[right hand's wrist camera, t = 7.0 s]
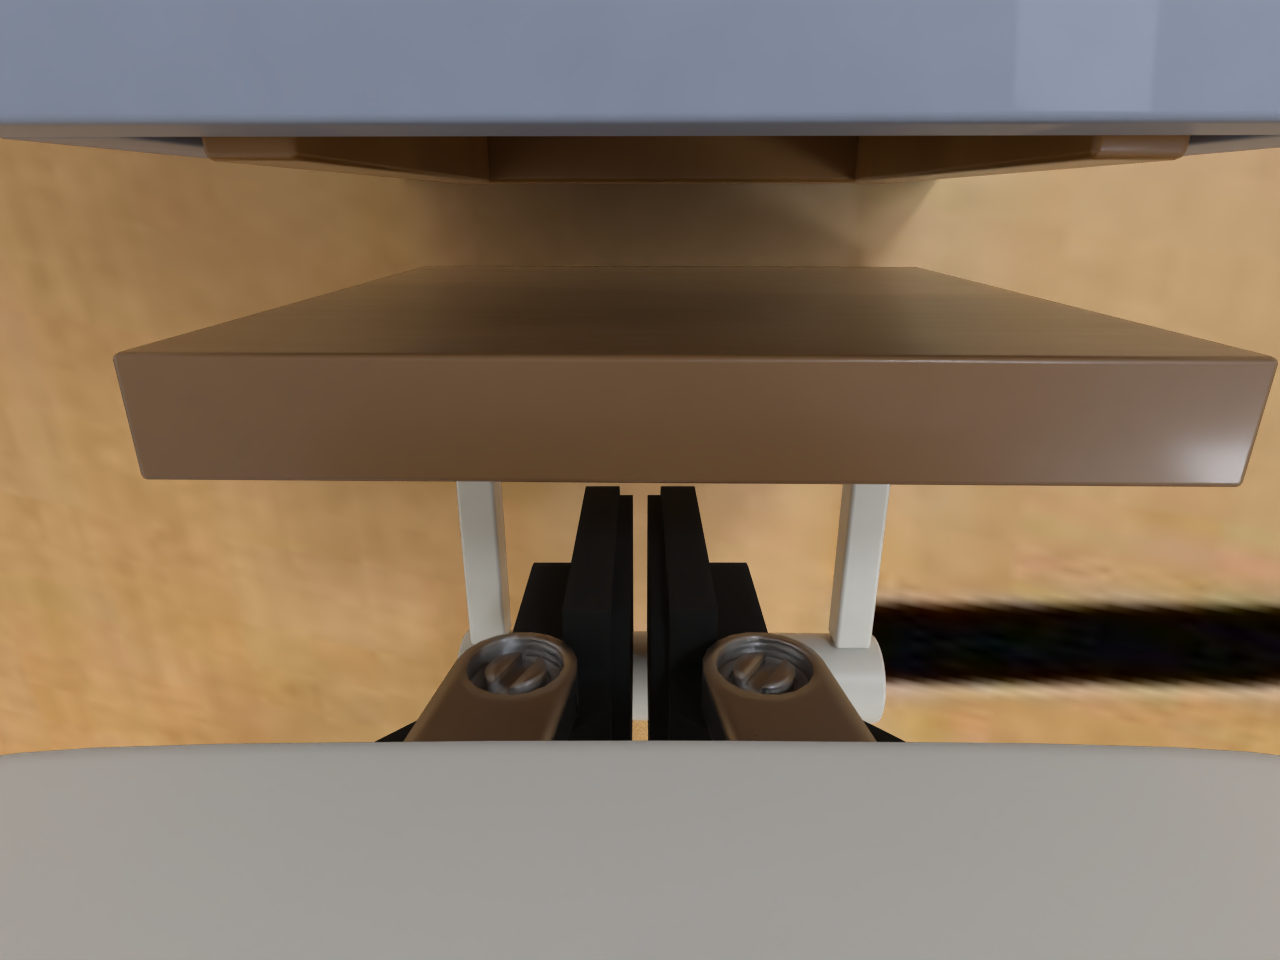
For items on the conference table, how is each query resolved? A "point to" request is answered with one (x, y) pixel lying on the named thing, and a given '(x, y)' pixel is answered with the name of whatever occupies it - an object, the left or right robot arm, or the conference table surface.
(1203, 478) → the drawer
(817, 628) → the conference table surface
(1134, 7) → the grey box
